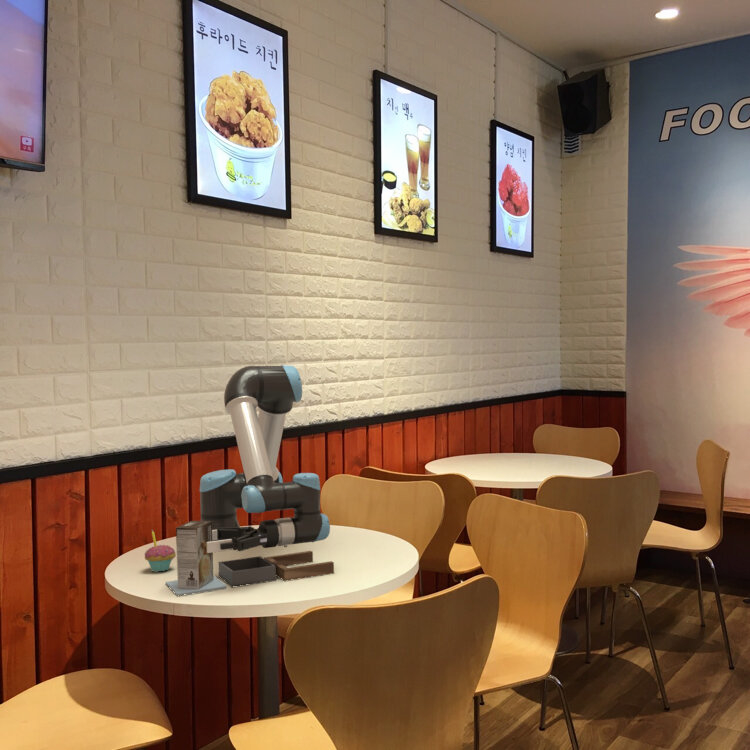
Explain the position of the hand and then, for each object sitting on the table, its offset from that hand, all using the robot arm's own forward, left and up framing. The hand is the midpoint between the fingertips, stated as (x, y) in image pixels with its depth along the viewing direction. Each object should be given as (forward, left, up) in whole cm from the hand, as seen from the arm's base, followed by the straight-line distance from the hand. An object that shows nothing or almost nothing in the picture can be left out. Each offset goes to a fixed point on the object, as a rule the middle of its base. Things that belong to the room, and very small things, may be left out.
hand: (200, 542), depth 210 cm
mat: (0, -1, -12) cm, 12 cm away
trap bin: (0, +13, -12) cm, 17 cm away
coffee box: (0, -1, -11) cm, 11 cm away
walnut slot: (0, +28, -12) cm, 31 cm away
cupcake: (-22, -6, -12) cm, 26 cm away
